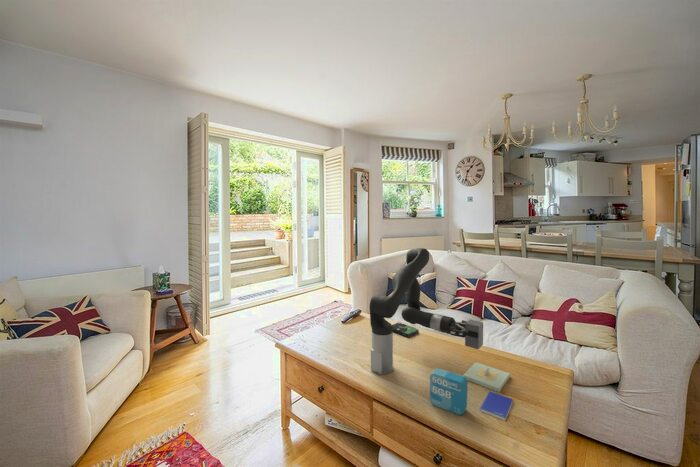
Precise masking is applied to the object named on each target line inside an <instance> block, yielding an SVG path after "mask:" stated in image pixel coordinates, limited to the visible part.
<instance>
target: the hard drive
mask: <svg viewBox="0 0 700 467" xmlns="http://www.w3.org/2000/svg"><path fill="white" fill-rule="evenodd" d="M513 403H514V400H513V398H510V397H507V396H504V395H501V394H499V393H497V392H496V393H495V392H493V391H488V393H487V395H486V397H485V399H484V400H483V402H482V404H481V405H480V407H479V411H480V412H482V413H485V414H487V415H490V416H493V417H495V418H498V419H500V420H502V421H506V420H507V417H508V415H509V412H510V410H511V407H512V404H513Z"/></svg>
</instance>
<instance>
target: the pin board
mask: <svg viewBox="0 0 700 467" xmlns="http://www.w3.org/2000/svg"><path fill="white" fill-rule="evenodd" d="M462 376H464V377H465V378H466V379H467V382H468V381H469V382H471V383H474V384H477V385H479V386H482V387H485V388H487V389H490V390H492V391H495V392H498V393H500V392H501V390H502V388H503V387H504V386H505V385H506V383H507V382H508V380H509V379H510V378H511V377H510V376H511V375H510V372H507V371H503V370H501V369H498V368H494V367H491V366H488V365H485V364H482V363H480V362H474V364H472V365H471V367H470V368H469V369H467V371H466V372H465V373H464V374H463V375H462Z"/></svg>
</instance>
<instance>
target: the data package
mask: <svg viewBox="0 0 700 467" xmlns="http://www.w3.org/2000/svg"><path fill="white" fill-rule="evenodd" d="M429 383H430V384H429V401H430V403H431V404H432V405H433V406H436V407H438V408H440V409H443V410H446V411H449V412H450V413H453V414H456V415H459V416H461V415H463V414H464V413H465V411H466V409H467V407H468V380H467V379H466V378H465V377H464V376H463V375H461V374H457V373H453V372H451V371H447V370H445V369H441V368H435V369H434V370H433V371H432V372H431V374H430V376H429Z"/></svg>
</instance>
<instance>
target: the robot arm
mask: <svg viewBox="0 0 700 467" xmlns="http://www.w3.org/2000/svg"><path fill="white" fill-rule="evenodd" d="M429 260H430V252H429V250H428V249H426V248H424V247H421V248H420V247H419V248H411V249H409V250H408V251H407V253H406V264H405V265H403V266H401V267H400V268H399V269H398V270H397V271H396V272H395V274H394V275H393V276H392V279H391V285H392V289H393V292H392V294H391V295H389V296H388V295H383V294H374V295H373V296H371V299H370V300H369V318H370V323H369V324H370V328H371V349H370V370H371V372H375V373H376V374H379V375H381V376H382V375H386V374H390V373H392V371H393V370H394V348H393V347H394V342H393V340H394V337H393V336H394V333H393V327H392V325H393V324H392V323H390V322H389V321H388V320H386V319H392V318H393V317H394V316H395V314H396V312H397V310H398V309H399V306H400V305H401V303H402V300H403V298H404V297H405V302H406V303H407V307H404V308H403V309H402V311H401V318H402V320H404V322H407V323H409V324H410V325H411V324H412V325H420V326H422V327H425V328H427V329H432V330H433V331H437V332H440V333H443V334H447V335H450V336H454V337H459V338H463V339H465V336H466V337H468V336H470V337H473V338H478V333H476V332H472V331H469V332H468V330H465V323H466V322H467V321H468V320H467V321H466V320H464V319H463V320H461V321H456V320H455V318H454V317H451V316H448V315H447V316H446V315H443V314H439V313H433V312H427V311H424V310H421V304H420V299H421V285H420V282H419V280H418V278H417V277H418V275H419V274H420V273H421V271H422V270H423V269H424V268H426V266H427V265H428V263H429Z"/></svg>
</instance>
